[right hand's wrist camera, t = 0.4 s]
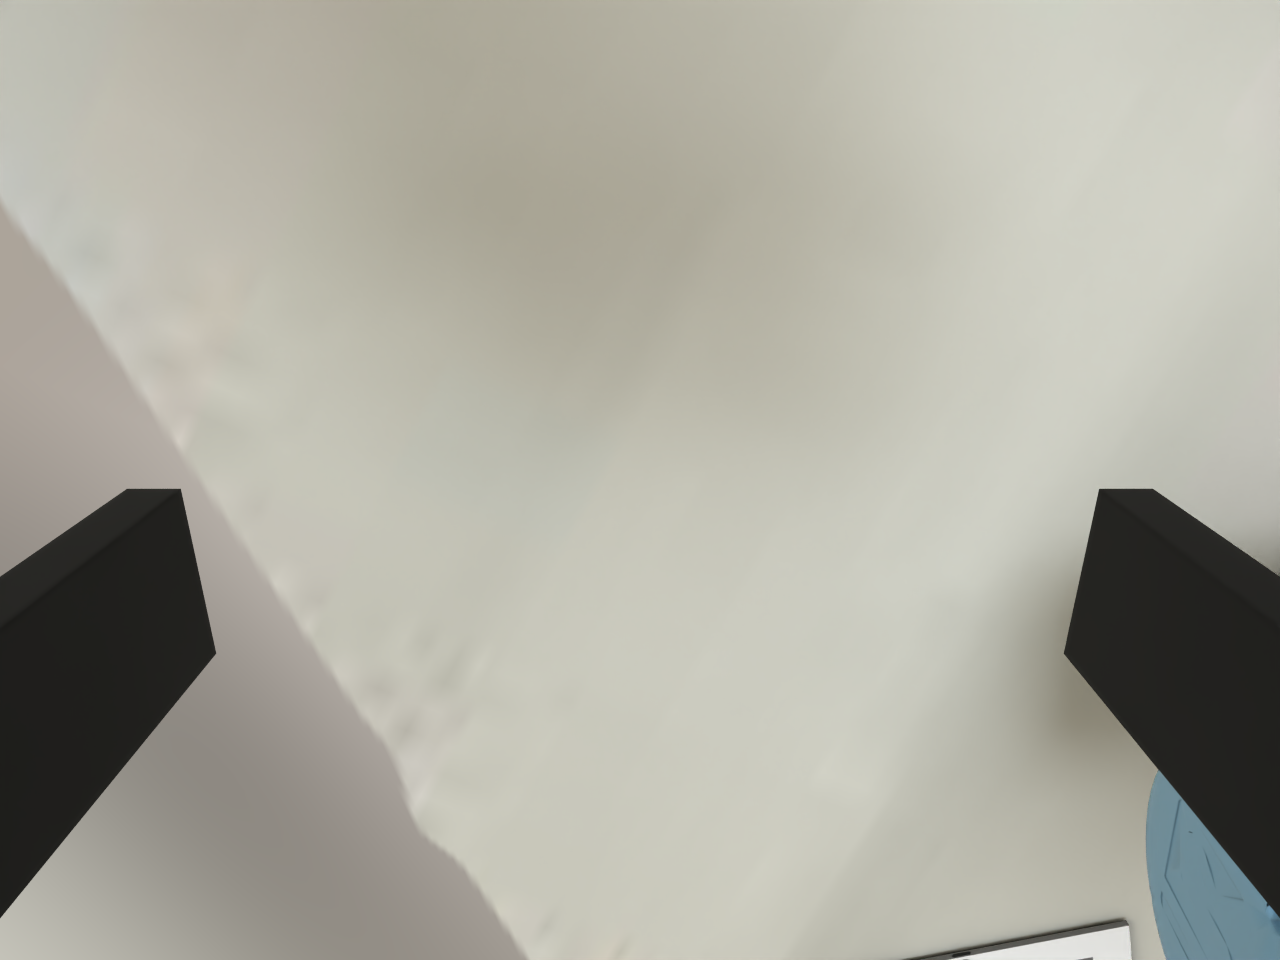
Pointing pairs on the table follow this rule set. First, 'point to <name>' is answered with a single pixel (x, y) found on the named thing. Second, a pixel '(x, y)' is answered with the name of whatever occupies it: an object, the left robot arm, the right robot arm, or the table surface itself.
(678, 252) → the table surface
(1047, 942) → the tablet
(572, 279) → the table surface
